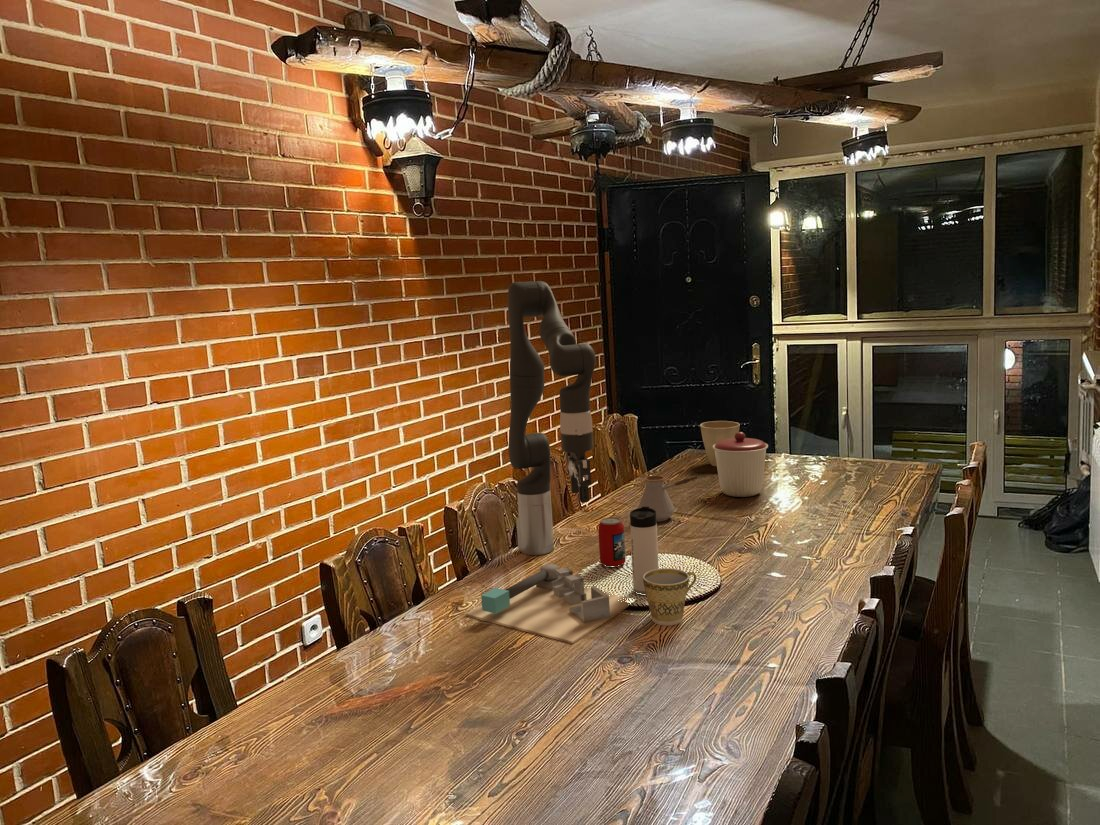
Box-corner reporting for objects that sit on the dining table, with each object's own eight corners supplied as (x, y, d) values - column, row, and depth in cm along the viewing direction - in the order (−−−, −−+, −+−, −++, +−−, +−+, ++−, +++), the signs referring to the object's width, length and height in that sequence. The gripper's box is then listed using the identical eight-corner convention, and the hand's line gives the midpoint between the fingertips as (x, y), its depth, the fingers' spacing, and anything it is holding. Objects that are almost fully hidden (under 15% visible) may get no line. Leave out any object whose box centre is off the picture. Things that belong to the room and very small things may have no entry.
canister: (776, 489, 278) (774, 428, 275) (758, 502, 263) (757, 438, 260) (725, 484, 288) (723, 426, 285) (705, 497, 273) (703, 435, 270)
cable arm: (548, 574, 205) (547, 560, 204) (562, 577, 202) (561, 563, 201) (481, 610, 185) (480, 595, 184) (496, 613, 182) (495, 598, 181)
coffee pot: (630, 520, 253) (628, 473, 250) (649, 511, 262) (647, 465, 259) (693, 530, 240) (691, 480, 237) (710, 519, 249) (709, 471, 246)
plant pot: (701, 469, 312) (700, 428, 310) (701, 460, 327) (699, 421, 324) (741, 468, 310) (740, 427, 307) (739, 459, 324) (738, 420, 322)
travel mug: (662, 586, 198) (658, 506, 195) (656, 596, 192) (653, 514, 189) (636, 584, 200) (633, 505, 197) (630, 595, 194) (626, 513, 191)
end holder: (569, 612, 185) (568, 591, 184) (595, 605, 187) (594, 585, 187) (584, 623, 178) (582, 602, 177) (610, 617, 181) (609, 596, 180)
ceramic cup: (662, 633, 172) (660, 588, 171) (635, 617, 181) (633, 574, 179) (711, 618, 178) (709, 574, 176) (683, 604, 187) (681, 562, 185)
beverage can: (624, 568, 211) (622, 524, 210) (598, 568, 213) (596, 524, 211) (627, 559, 218) (625, 516, 216) (602, 559, 219) (599, 516, 217)
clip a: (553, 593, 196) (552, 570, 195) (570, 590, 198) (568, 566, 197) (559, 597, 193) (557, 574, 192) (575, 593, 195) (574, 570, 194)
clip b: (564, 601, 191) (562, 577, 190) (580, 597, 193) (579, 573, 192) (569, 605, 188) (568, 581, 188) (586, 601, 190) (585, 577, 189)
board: (465, 615, 188) (464, 605, 187) (534, 579, 208) (534, 569, 208) (572, 643, 170) (572, 632, 169) (636, 600, 190) (636, 590, 190)
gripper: (554, 426, 197) (558, 491, 200) (567, 436, 183) (571, 506, 186) (584, 423, 199) (588, 488, 201) (599, 433, 185) (603, 503, 187)
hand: (580, 497), depth 194 cm, fingers open, 8 cm apart
